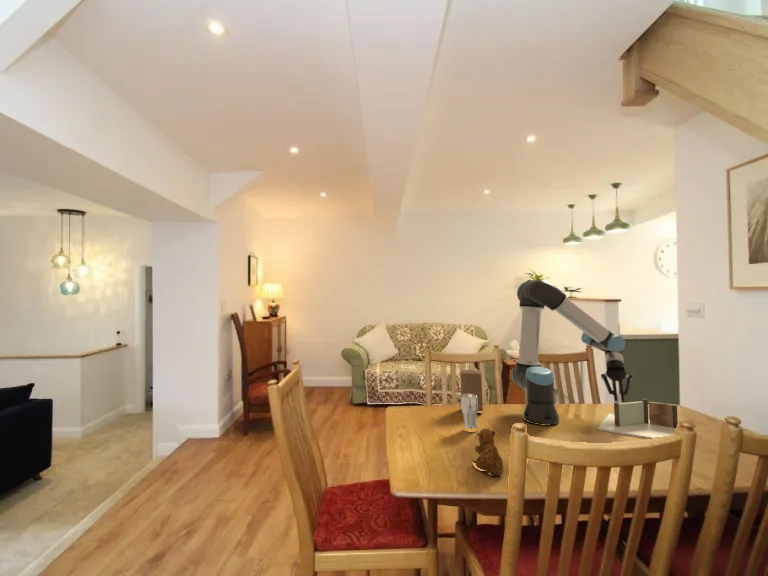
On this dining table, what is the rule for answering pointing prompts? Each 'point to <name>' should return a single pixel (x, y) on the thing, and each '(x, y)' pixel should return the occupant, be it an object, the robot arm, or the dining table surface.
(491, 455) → the brown plush animal
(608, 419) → the card
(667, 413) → the fixed fence
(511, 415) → the dining table surface
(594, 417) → the dining table surface
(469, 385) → the wooden block
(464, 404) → the beer glass
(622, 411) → the green fence panel
